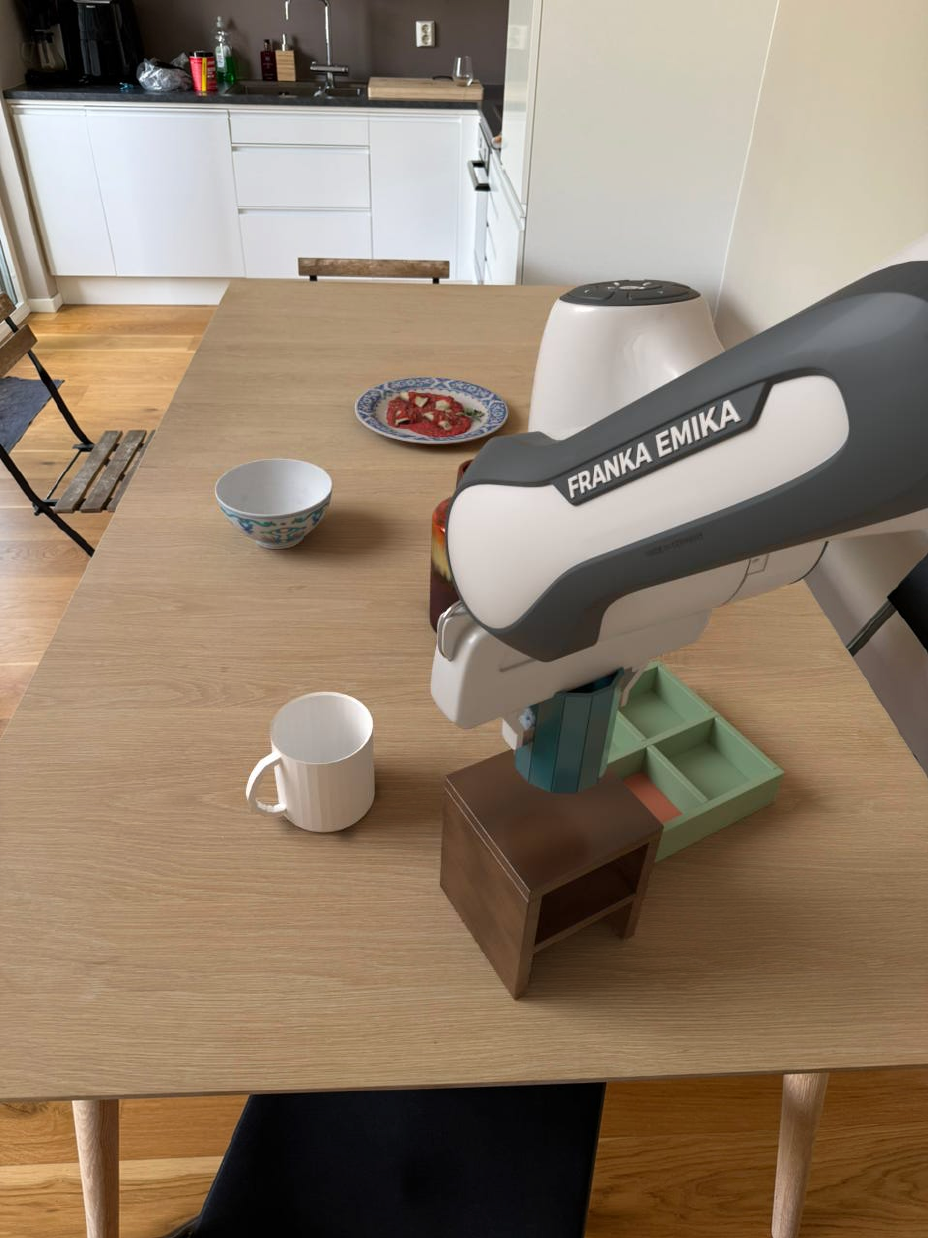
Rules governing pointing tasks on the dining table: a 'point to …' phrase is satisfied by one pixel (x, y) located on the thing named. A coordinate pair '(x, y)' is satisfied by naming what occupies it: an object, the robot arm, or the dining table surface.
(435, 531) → the vase
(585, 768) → the cup
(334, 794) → the mug
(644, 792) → the tray
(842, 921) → the dining table surface
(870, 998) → the dining table surface
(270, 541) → the chinaware
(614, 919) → the shelf
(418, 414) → the ceramic plate
